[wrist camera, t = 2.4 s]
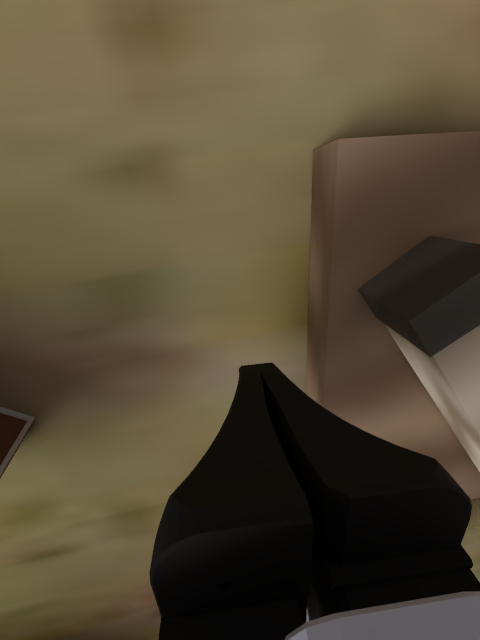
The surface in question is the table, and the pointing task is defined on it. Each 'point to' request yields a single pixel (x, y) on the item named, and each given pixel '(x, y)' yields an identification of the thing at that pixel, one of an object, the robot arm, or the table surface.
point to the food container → (11, 434)
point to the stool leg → (437, 326)
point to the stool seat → (371, 259)
